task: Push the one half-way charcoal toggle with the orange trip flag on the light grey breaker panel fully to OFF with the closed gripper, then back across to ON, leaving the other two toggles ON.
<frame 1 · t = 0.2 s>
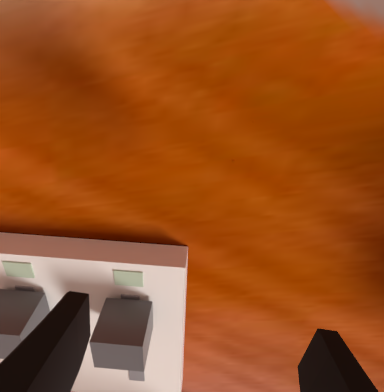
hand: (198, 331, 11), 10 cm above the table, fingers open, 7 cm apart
middle breaker: (13, 323, 21), point 4 cm above the table, slide at 7.0 cm
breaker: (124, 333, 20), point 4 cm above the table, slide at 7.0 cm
breaker panel: (51, 310, 26), on the table
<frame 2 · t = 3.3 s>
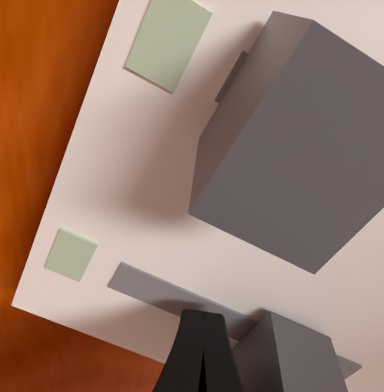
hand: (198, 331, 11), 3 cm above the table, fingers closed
middle breaker: (292, 133, 6), point 4 cm above the table, slide at 7.0 cm
breaker panel: (363, 142, 10), on the table
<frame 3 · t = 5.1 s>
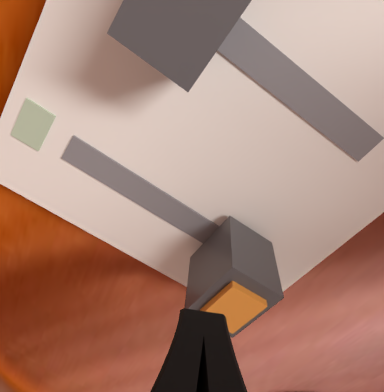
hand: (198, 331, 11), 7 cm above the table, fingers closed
tripped breaker: (231, 277, 14), point 4 cm above the table, slide at -0.1 cm
middle breaker: (187, 6, 9), point 4 cm above the table, slide at 7.0 cm
breaker panel: (267, 62, 13), on the table
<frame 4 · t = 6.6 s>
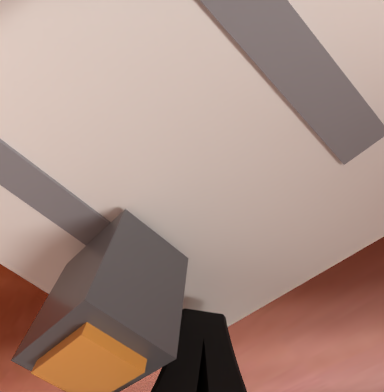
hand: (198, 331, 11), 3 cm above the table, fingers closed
tripped breaker: (109, 307, 9), point 4 cm above the table, slide at 0.5 cm, touching gripper
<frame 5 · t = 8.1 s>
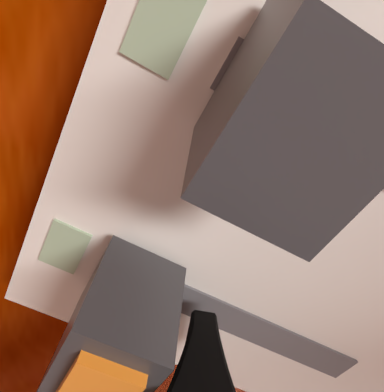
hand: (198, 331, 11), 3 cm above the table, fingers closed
tripped breaker: (116, 330, 9), point 4 cm above the table, slide at 7.5 cm, touching gripper
middle breaker: (288, 118, 6), point 4 cm above the table, slide at 7.0 cm
breaker panel: (361, 134, 10), on the table
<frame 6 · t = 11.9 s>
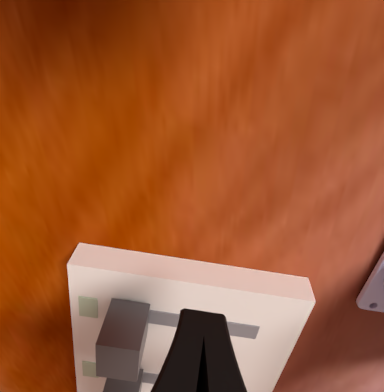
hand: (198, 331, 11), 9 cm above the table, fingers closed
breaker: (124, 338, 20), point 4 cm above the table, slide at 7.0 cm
breaker panel: (176, 356, 27), on the table
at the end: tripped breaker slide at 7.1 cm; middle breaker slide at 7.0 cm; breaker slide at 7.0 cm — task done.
